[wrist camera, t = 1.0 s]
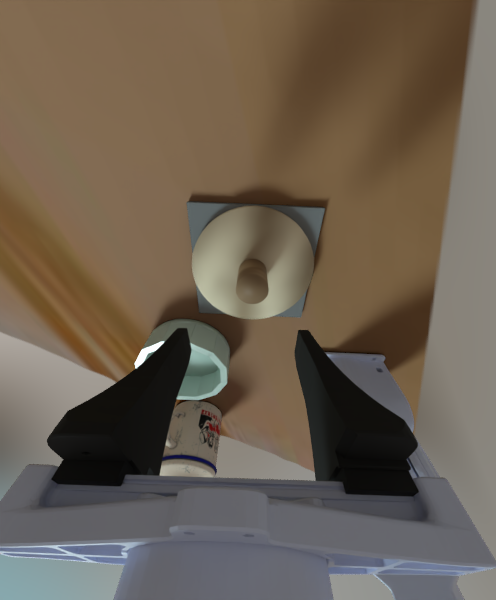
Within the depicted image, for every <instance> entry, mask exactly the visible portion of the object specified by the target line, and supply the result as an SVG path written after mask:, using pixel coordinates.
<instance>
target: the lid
mask: <svg viewBox="0 0 496 600" xmlns="http://www.w3.org/2000/svg"><path fill="white" fill-rule="evenodd" d="M313 270H314V256H313V251H312V247H311V244H310V242H309V240H308V238H307V236H306V235H305V233H304V232H303V230H302V229H301V227H300V226H299V225H298V224H297V223H296V222H295V221H294V220H292V219H291V218H290V217H289V216H287V215H285V214H284V213H282V212H280V211H278V210H275V209H272V208H269V207H265V206H256V205H255V206H242V207H237V208H234V209H231V210H228V211H226V212H224V213H222V214H221V215H219V216H218V217H216V218H215V219H213V220H212V221H211V222H210V223H209V224H208V225H207V226H206V228H205V229H204V230H203V232H202V233H201V235H200V236H199V238H198V240H197V242H196V244H195V247H194V251H193V255H192V271H193V276H194V279H195V282H196V285H197V287H198V289H199V290H200V292H201V293H202V295H203V296H204V297H205V298H206V300H207V301H208V302H209V303H211V304H212V305H213V306H214V307H216V308H217V309H219V310H220V311H222V312H224V313H226V314H228V315H231V316H234V317H238V318H243V319H263V318H268V317H272V316H275V315H277V314H280V313H282V312H284V311H286V310H287V309H289V308H290V307H292V306H293V305H294V304H295V303H296V302H297V301H298V300H300V298H301V297H302V296H303V295H304V293H305V292H306V290H307V288H308V286H309V284H310V282H311V279H312V276H313Z"/></svg>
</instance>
